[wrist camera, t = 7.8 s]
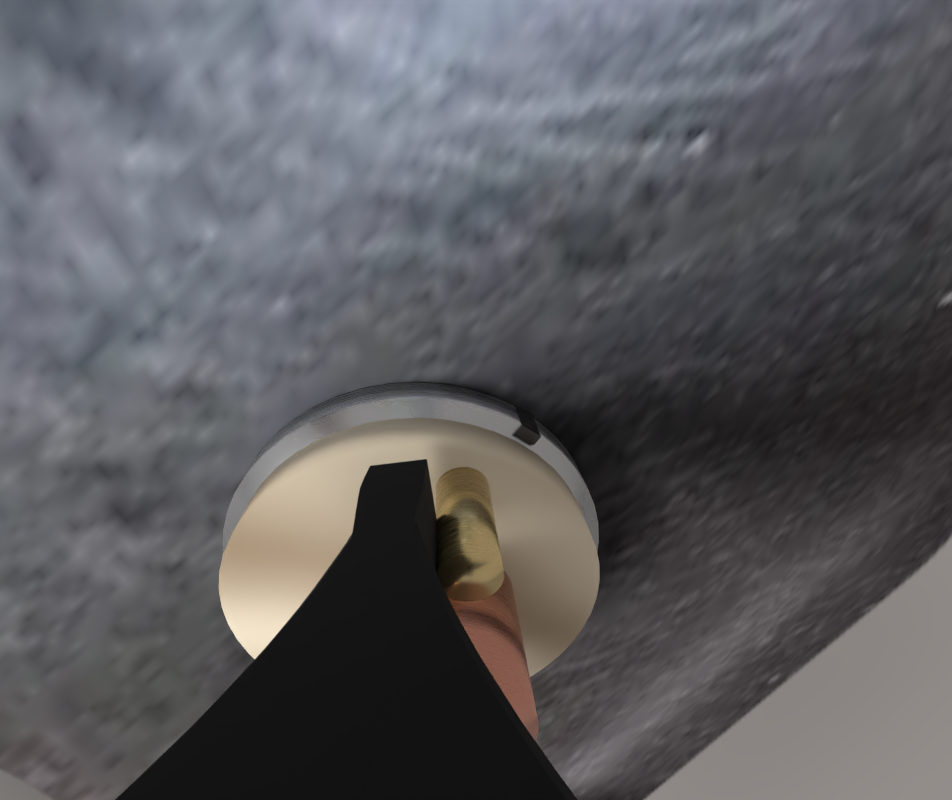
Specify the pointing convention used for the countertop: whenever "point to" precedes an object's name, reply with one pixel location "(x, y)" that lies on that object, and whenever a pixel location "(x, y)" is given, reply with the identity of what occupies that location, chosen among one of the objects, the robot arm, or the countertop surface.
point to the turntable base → (412, 404)
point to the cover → (501, 647)
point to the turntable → (458, 530)
